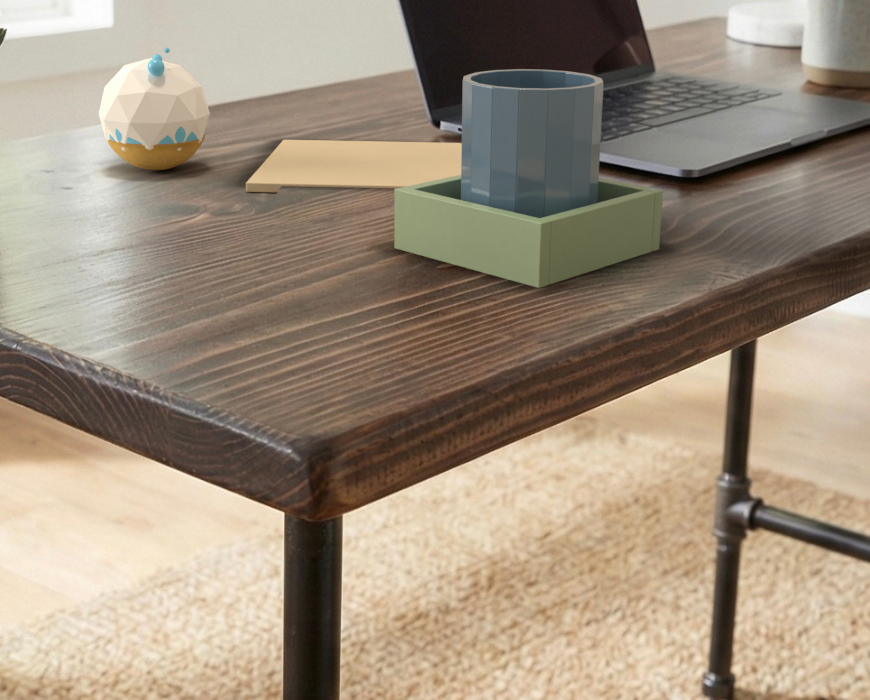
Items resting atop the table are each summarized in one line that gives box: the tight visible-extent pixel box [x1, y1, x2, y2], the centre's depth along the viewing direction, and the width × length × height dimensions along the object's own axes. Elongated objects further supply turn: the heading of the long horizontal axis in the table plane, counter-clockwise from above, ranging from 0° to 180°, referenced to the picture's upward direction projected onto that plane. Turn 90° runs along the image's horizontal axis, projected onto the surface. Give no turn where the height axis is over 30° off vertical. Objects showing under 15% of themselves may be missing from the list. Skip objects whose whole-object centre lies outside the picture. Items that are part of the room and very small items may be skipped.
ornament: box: [98, 47, 211, 171], centre depth 84 cm, size 7×7×8 cm
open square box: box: [393, 175, 664, 289], centre depth 66 cm, size 10×10×4 cm
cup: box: [461, 68, 604, 218], centre depth 65 cm, size 7×7×9 cm
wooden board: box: [245, 139, 462, 194], centre depth 86 cm, size 14×14×1 cm
